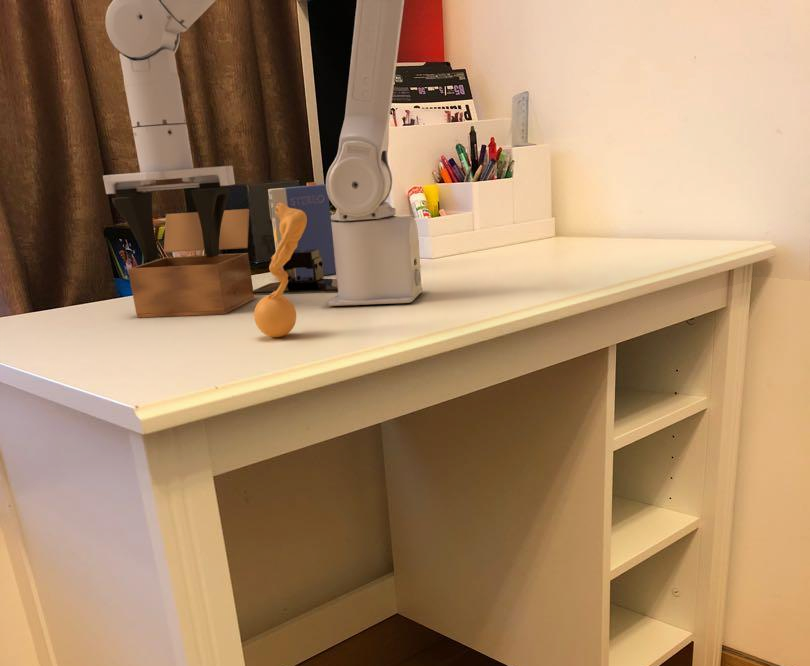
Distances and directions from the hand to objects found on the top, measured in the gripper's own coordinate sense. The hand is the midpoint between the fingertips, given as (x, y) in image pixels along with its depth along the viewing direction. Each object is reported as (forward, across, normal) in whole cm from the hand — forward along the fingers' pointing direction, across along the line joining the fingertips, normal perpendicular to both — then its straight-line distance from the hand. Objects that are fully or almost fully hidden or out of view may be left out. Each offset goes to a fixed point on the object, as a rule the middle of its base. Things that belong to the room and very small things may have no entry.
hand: (182, 258), depth 100 cm
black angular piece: (+6, +10, +14) cm, 18 cm away
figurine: (+6, +17, -16) cm, 24 cm away
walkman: (+6, +7, +24) cm, 26 cm away
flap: (-2, 0, +8) cm, 8 cm away
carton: (+6, 0, +2) cm, 6 cm away
